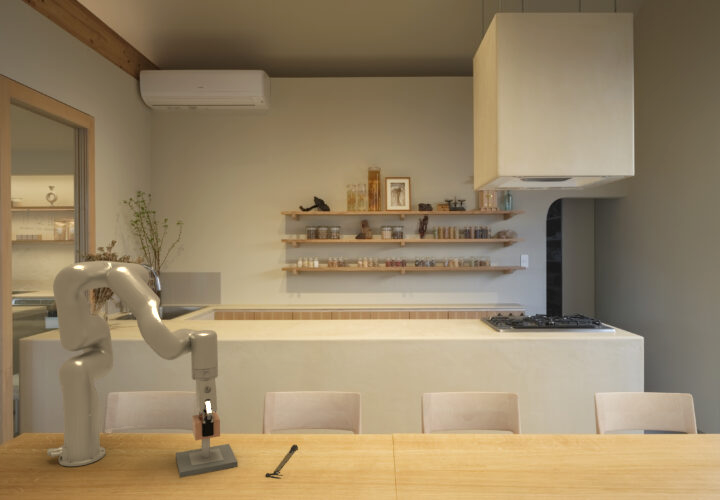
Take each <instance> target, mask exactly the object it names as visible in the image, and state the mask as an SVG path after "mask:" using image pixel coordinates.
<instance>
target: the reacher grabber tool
mask: <svg viewBox="0 0 720 500" xmlns="http://www.w3.org/2000/svg"><path fill="white" fill-rule="evenodd" d="M297 449H298V445H297V444H293V445H292V446H291V447H290V450H289V451H288V452H287V454H285V456H284V458H283V459H282V460H281V461H280V462H279V464H278V465H277V466H276V468H275V469H274V470H273V473H269V472H266V473H265V474H264V476H265V478H272V479H278V480H281V479H282V478H281V477H283V476H284V474H281V472H280V471H281V470H282V468H283V467H284V466H285V465H286V464H287V462H288V461H289V460H290V459H291V457H292V456H293V455H294V453H295V452H296V450H297ZM280 476H281V477H280Z"/></svg>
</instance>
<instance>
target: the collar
mask: <svg viewBox="0 0 720 500" xmlns="http://www.w3.org/2000/svg"><path fill="white" fill-rule="evenodd" d="M212 414H213V422H214V435H213V436H207V437H203V436H202V423H203V416H202V414H201V415H199V414H196V415H192V435H193V438H194V441H200V440H201V441H202V439H207V438H210V439H212V438H218V437H219V438H220V437H221V419H220V417H219V415H218V412H215V411H213V412H212ZM205 416H207V415H205Z"/></svg>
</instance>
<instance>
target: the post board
mask: <svg viewBox="0 0 720 500" xmlns="http://www.w3.org/2000/svg"><path fill="white" fill-rule="evenodd" d="M175 461H176V465H177V470H178V475H179V478H184V477H185V478H186V477H190V476H195V475H200V474H206V473H210V472H211V473H212V472H216V471H222V470H227V469H228V470H229V469H232V468H237V467H238V465H239V464H238V459H237V458H236V456H235V454H234V451H233V449H232V447H231V445H230V443H227V444H220V445H214V446H211V438H207V439H201V447H200V448H197V449H191V450H183V451H179V452H175Z"/></svg>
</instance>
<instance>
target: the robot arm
mask: <svg viewBox="0 0 720 500" xmlns="http://www.w3.org/2000/svg"><path fill="white" fill-rule="evenodd" d="M149 281H150V274H149V271H148V270H147V268H145V266H143V265H141V264H139V263H134V262H133V263H132V262H122V261H112V260H111V261H110V260H93V261H81V262H76V263H73V264H69V265H67V266H65V267H63V268H61V270H59V272H58V273H57V274H56V276H55V277H54V280H53V285H52V290H53V291H52V292H53V296H54V301H55V304H56V306H55V307H56V312H57V313H56V315H57V322H58V324H57V325H58V331H59V333H58V334H59V340H60V343H61V346H62V348H63V349H64V350H66V351H68V352H78V351H81V350H82V351H83V352H81V353H79V354H76V355H74V356H71V357H69V358H68V359H67V360H65V361H64V362H63V363H62V364H61V366H60V367H59V371H58V380H59V384H60V388H61V395H62V410H63V445H60V446H59V447H51V448H47V453H46V454H47V456H50V458H55V457H58V463H59V465H61V466H64V467H80V466H85V465H90V464H92V463H93V464H94V463H95V462H97V461H99V460H101V459H102V458H104V457H105V456H106V449H105V447H103V446H102V445H100V444H101V443H100V440H101V439H100V403H99V400H100V399H99V394H98V391H97V389H96V386H95V382H96V381H99V380H100V379H102V378H104V377H106V376H107V375H109V374H110V372H111V371H112V369H113V366H114V354H113V352H114V351H113V345H112V337H111V334H112V333H111V329H110V326H109V324H108V322H107V321H106V319H104V318H103V317H101V316H99V315H94V314H91V315H90V305H89V301H88V299H87V297H86V295H85V294H84V292H85V291H88V290H95V289H101V288H109V289H110V290H111V292H113V294H115V296H116V297H117V298H118V299H119V300H120V301H121V302H122V303H123V305H124V306H125V307H126V308H127V309H128V310H129V312H130V313H132V315H133V316H134V317H135V318H136V323H137V327H138V330H139V332H140V334H141V337H142V339H143V341H145V343H146V344H147V345H148V346H149V347H150V349H151V350H153V352H154V353H155V354H156V355H158V357H160V358H162V359H163V360H165V361H166V360H167V361H174V360H176V359H179V358H180V357H182V356H184V355H187V354H190V358H191V359H190V361H191V363H190V365H191V380H193V381H195V392H196V393H195V396H196V406H197V408H198V413H199V414H198V415H201V414H202V416H203V423H202V436H203V437H207V436H213V435H214V422H213V414H212V413H213V412H216V413H218V400H217V385H216V384H217V383H216V379H217V378H218V377H219V362H218V361H219V360H218V359H219V358H218V356H219V355H218V352H219V351H218V334H217V332H216V330H212V329H201V330H195V329H191V328H180V329H177V330H174V331H171V330H170V329H169V328H168V327H167V326H166V325H165V323H164V322H163V321H162V319H161V317H160V313H159V308H160V304H161V298H160V297H159V296H158V295H157V294H156V293H155V291H154V290H153V289H152V288H151V287H150V285H148V284H149ZM205 415H207V416H205Z"/></svg>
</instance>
